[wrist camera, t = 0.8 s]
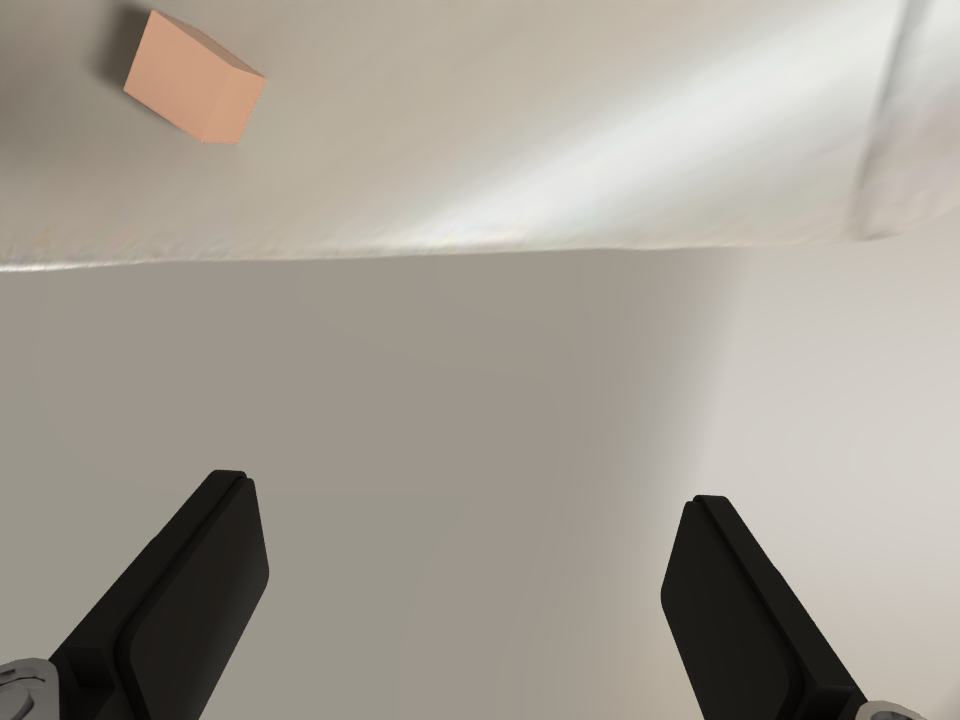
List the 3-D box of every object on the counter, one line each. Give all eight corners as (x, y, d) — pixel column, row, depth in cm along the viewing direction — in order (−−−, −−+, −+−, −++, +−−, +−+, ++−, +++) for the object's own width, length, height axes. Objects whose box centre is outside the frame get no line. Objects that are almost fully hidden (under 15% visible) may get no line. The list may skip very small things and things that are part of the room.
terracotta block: (199, 29, 32) (152, 9, 28) (267, 78, 33) (233, 67, 29) (172, 98, 34) (123, 90, 29) (237, 143, 35) (200, 141, 30)
